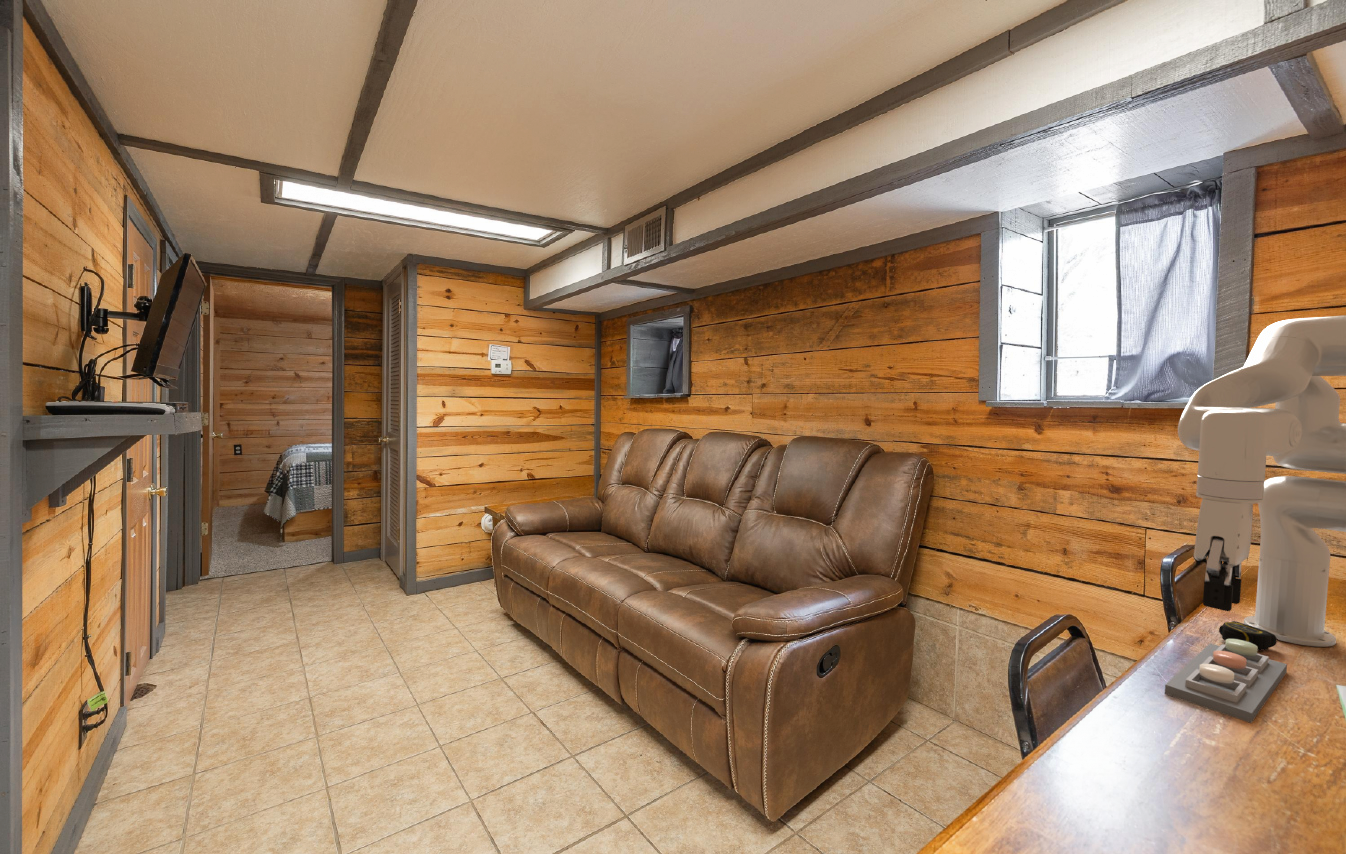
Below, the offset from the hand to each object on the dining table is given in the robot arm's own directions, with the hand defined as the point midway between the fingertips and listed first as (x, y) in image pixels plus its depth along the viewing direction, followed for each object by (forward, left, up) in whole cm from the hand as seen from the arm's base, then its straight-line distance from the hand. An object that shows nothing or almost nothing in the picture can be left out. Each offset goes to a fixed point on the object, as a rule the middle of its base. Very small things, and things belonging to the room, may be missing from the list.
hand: (1221, 603), depth 91 cm
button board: (-8, 0, -15) cm, 17 cm away
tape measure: (-30, -2, -16) cm, 34 cm away
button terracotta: (-8, 0, -12) cm, 14 cm away
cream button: (0, 0, -12) cm, 12 cm away
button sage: (-16, 0, -12) cm, 20 cm away
